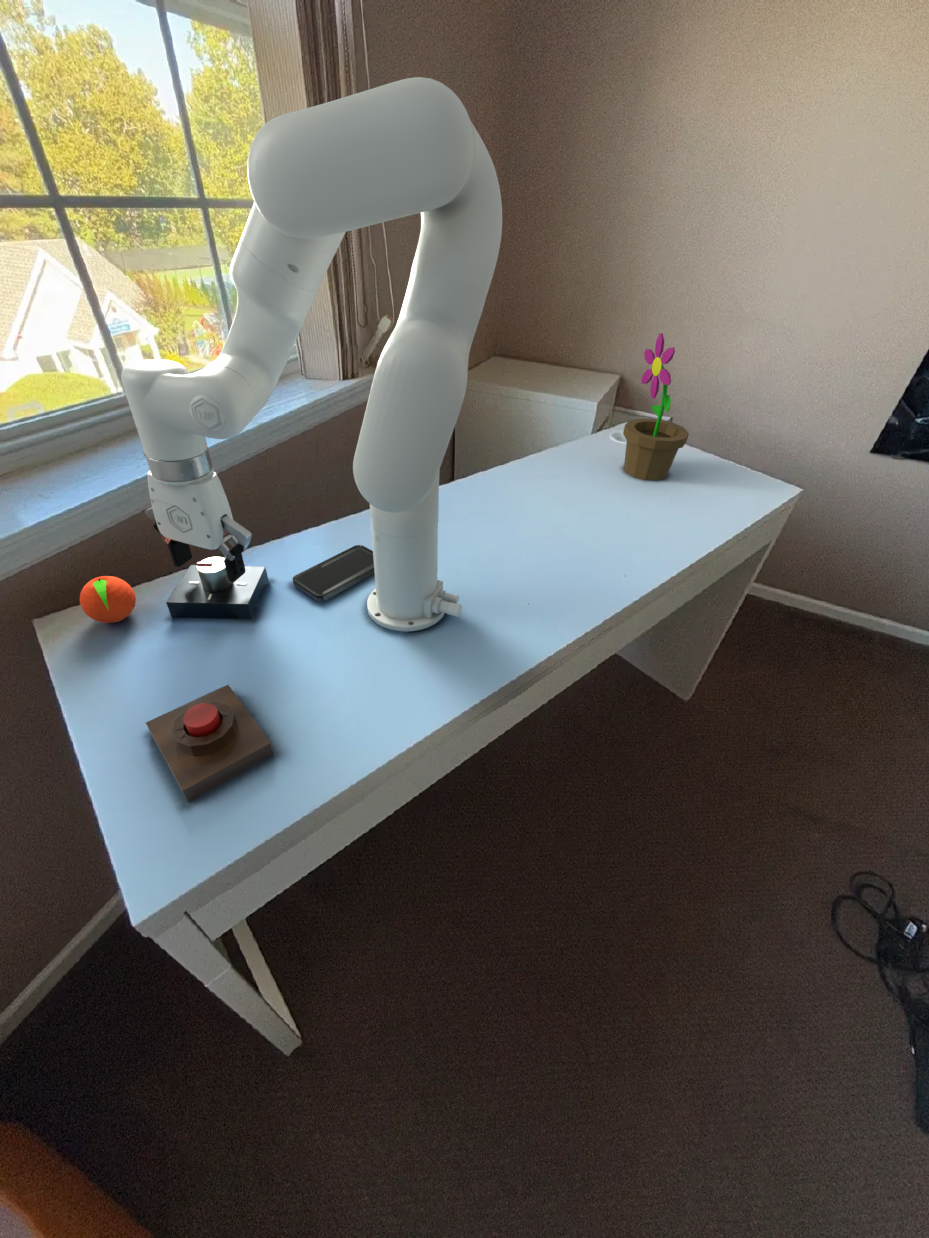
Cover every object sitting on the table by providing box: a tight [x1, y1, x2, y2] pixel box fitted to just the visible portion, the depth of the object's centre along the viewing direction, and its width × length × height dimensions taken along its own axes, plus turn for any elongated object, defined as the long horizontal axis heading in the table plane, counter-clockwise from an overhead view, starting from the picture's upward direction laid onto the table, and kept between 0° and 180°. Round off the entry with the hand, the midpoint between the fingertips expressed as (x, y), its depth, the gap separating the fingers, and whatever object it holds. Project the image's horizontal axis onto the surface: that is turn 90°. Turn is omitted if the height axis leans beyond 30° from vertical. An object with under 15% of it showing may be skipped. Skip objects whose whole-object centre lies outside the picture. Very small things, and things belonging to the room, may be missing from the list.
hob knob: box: [196, 556, 233, 592], centre depth 84 cm, size 4×4×4 cm
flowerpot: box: [622, 332, 690, 481], centre depth 122 cm, size 14×14×30 cm
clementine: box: [79, 575, 137, 624], centre depth 80 cm, size 8×7×7 cm
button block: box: [145, 684, 275, 803], centre depth 64 cm, size 12×10×4 cm
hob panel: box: [165, 564, 270, 620], centre depth 86 cm, size 12×10×3 cm
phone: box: [292, 544, 375, 602], centre depth 93 cm, size 8×1×15 cm
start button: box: [183, 703, 221, 737], centre depth 62 cm, size 4×4×2 cm
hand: (210, 569), depth 83 cm, fingers open, 9 cm apart
